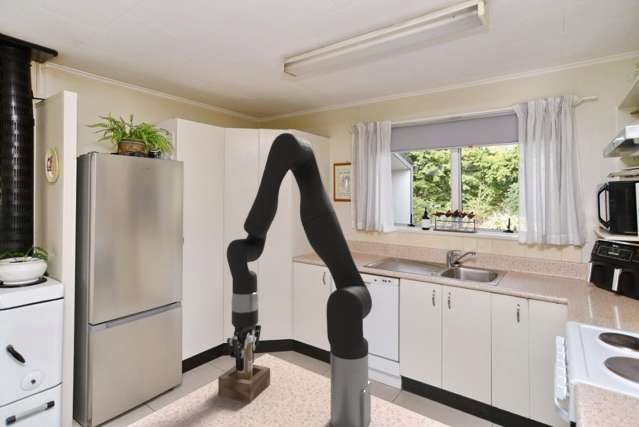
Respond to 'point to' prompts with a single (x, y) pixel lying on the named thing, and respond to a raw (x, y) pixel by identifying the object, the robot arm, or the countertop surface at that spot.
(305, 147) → the robot arm
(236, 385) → the frame
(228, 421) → the countertop surface
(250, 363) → the sprinkles bottle
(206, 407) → the countertop surface
